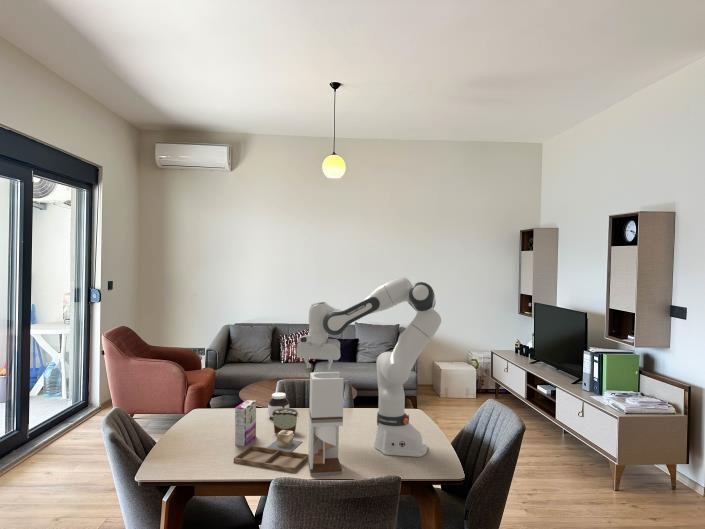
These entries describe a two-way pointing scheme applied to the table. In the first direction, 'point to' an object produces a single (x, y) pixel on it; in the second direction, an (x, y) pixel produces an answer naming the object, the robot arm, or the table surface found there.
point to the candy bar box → (245, 422)
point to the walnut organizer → (271, 458)
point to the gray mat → (290, 448)
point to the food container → (285, 419)
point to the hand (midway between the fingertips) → (318, 368)
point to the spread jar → (277, 403)
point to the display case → (325, 423)
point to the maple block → (285, 438)
